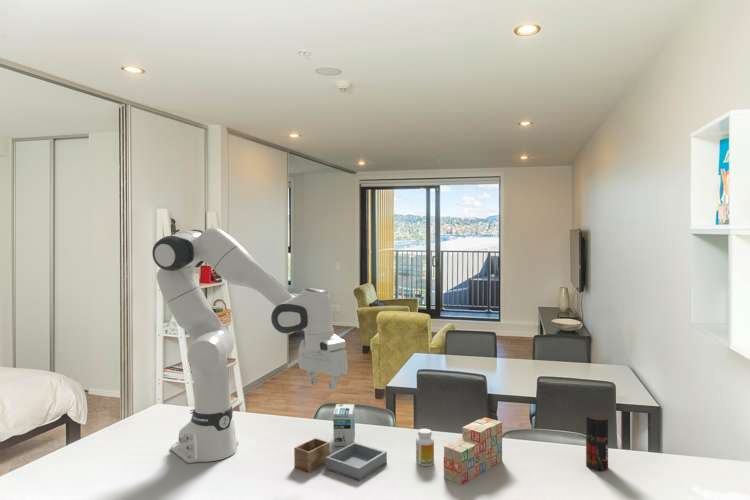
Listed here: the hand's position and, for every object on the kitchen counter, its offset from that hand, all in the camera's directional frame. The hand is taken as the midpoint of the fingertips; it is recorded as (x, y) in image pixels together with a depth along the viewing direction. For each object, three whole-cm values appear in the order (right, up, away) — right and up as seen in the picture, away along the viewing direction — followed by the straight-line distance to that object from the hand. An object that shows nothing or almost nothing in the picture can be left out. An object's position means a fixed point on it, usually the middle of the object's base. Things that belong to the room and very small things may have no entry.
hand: (323, 386), depth 149 cm
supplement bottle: (+31, -23, 0) cm, 39 cm away
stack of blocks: (+45, -24, -4) cm, 51 cm away
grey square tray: (+10, -23, -2) cm, 25 cm away
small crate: (-3, -23, -1) cm, 24 cm away
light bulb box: (+5, -23, +18) cm, 30 cm away
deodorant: (+81, -23, -3) cm, 85 cm away
